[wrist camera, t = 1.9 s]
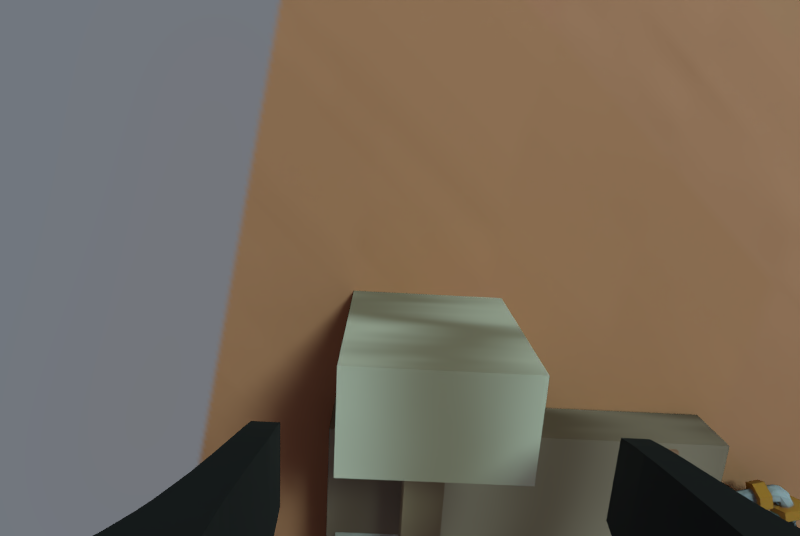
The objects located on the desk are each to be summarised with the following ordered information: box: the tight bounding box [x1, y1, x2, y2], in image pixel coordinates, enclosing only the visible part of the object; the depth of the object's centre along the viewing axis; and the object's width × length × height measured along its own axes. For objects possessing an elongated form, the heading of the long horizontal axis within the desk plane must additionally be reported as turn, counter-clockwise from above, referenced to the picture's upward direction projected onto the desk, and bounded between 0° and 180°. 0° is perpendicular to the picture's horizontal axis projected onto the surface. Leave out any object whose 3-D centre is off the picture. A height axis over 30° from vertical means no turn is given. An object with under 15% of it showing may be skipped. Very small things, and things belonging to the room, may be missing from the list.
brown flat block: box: [326, 399, 729, 536], centre depth 20 cm, size 13×9×2 cm
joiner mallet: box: [334, 291, 549, 536], centre depth 17 cm, size 5×8×6 cm, turn 177°
